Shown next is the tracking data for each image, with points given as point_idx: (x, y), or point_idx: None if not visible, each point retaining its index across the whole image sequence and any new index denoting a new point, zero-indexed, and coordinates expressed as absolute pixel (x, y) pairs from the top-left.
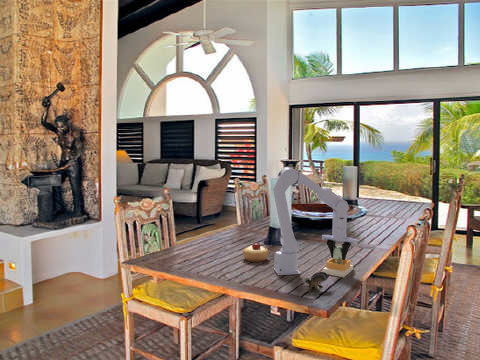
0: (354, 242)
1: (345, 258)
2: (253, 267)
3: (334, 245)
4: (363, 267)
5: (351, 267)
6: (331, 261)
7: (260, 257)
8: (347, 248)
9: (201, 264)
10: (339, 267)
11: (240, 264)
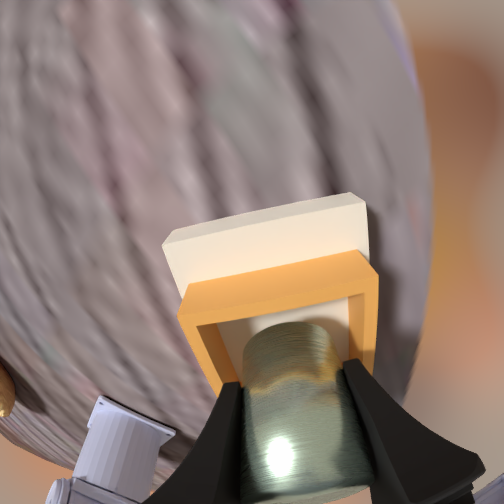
0: (502, 493)
1: (361, 366)
2: (56, 423)
3: (226, 496)
4: (384, 82)
5: (365, 245)
6: (217, 354)
7: (12, 399)
8: (414, 446)
9: (24, 432)
10: None
11: (29, 414)
